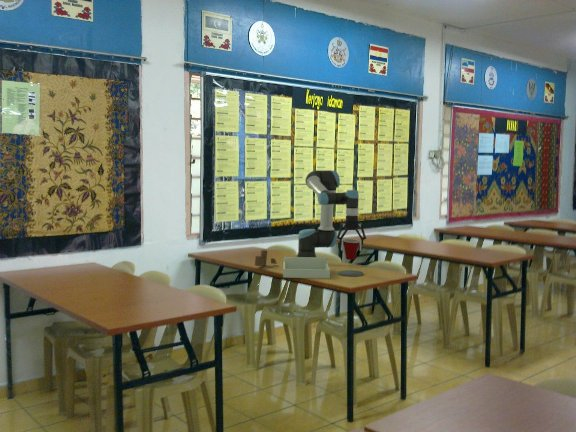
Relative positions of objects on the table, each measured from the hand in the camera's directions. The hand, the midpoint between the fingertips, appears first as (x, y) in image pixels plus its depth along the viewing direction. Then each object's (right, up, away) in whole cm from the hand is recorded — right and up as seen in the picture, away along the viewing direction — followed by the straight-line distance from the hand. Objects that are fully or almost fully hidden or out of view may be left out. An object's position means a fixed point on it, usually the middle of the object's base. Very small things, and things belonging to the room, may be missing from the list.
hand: (351, 250), depth 374 cm
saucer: (0, -15, +1) cm, 15 cm away
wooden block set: (-56, -12, +25) cm, 62 cm away
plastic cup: (0, -6, 0) cm, 6 cm away
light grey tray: (-28, -14, +1) cm, 32 cm away
